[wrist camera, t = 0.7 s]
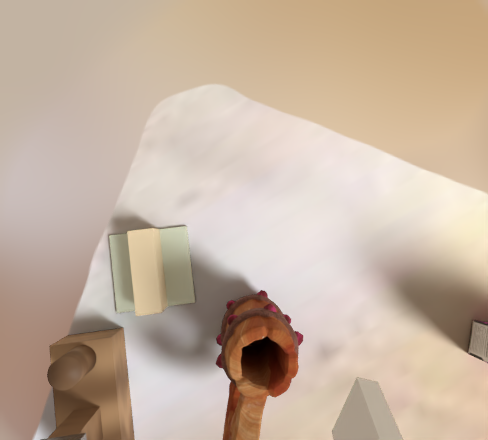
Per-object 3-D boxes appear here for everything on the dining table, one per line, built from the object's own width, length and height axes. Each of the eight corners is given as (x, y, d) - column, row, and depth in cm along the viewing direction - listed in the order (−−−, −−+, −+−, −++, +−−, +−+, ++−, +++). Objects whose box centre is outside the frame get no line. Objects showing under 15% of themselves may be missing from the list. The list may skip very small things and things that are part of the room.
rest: (195, 301, 40) (191, 308, 36) (117, 312, 40) (105, 320, 36) (186, 226, 41) (182, 224, 37) (110, 235, 41) (97, 234, 37)
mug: (232, 278, 41) (233, 300, 26) (291, 295, 41) (326, 326, 26) (200, 389, 40) (182, 479, 25) (261, 406, 40) (280, 505, 25)
